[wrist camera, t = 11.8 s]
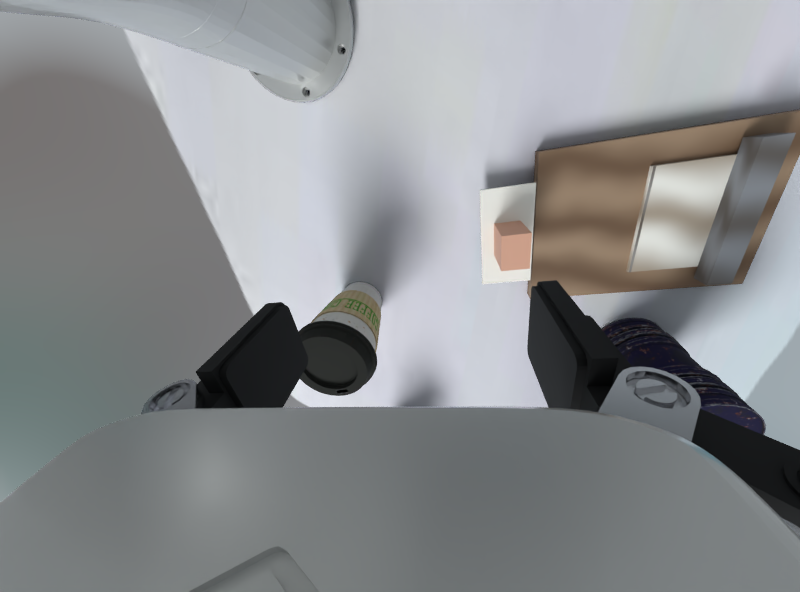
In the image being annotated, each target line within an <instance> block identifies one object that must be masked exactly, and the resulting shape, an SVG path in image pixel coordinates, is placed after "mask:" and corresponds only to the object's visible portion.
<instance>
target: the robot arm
mask: <svg viewBox="0 0 800 592" xmlns="http://www.w3.org/2000/svg"><path fill="white" fill-rule="evenodd" d="M0 12H7V13H18V14H30V15H42V16H55V17H67V18H75V19H83V20H88V21H94V22H99V23H104V24H108V25H112V26H116V27H120V28H124V29H128V30H131V31H134V32H137V33H141V34H144V35H147V36H150V37H153V38H157V39H160V40H163V41H165V42H168V43H171V44H174V45H177V46H179V47H182V48H185V49H188V50H191V51H194V52H197V53H200V54H203V55H206V56H209V57H212V58H215V59H218V60H221V61H223V62H226V63H229V64H232V65H235V66H238V67H241V68H244V69H247V70H249V71H250V73H251V74H252V75H253V77H254V78H255V79H256V80H257V81H258V82H259V83H260V84H261V85H262V86H263V87H264V88H265V89H267V90H268V91H270V92H271V93H273V94H274V95H276V96H278V97H281V98H283V99H285V100H289V101H293V102H303V103H305V102H311V101H315V100H318V99H320V98H322V97H324V96H326V95H327V94H328V93H330V92H331V91H332V90H333V89H334V88H335V87H336V86H337V85H338V83H339V82H340V81H341V79H342V77H343V75H344V74H345V72H346V70H347V67H348V64H349V61H350V58H351V53H352V48H353V37H354V25H353V16H352V10H351V5H350V1H349V0H0ZM343 48H345V49H346V52H345V53H344V54H342V49H343ZM309 90H310V95H308V93H307V92H308V91H309ZM528 356H529V359H530V361H531V364H532V366H533V369H534V371H535V374H536V376H537V379H538V382H539V384H540V387H541V389H542V392H543V394H544V397H545V399H546V402H547V404H548V407H549V408H542V407H299V408H298V407H296V408H295V407H292V408H291V407H290V408H289V407H288V408H287V407H286V408H285V407H284V408H283V406H284V404H285V402H286V401H287V399H288V397H289V396H290V394H291V392H292V391H293V389H294V387H295V385H296V384H297V382H298V380H299V379H300V377H301V375H302V373H303V372H304V370H305V368H306V367H307V364H308V356H307V353H306V350H305V348H304V345H303V343H302V340H301V338H300V335H299V333H298V330H297V327H296V325H295V322H294V320H293V317H292V315H291V312H290V310H289V308H288V306H286V305H284V304H283V303H282V302H279V303H267V304H266V305H265V306H264V307H263V308H262V309H260V310H259V311H258V312H257V313H256V314H255V315H254V316H253V317H252V318H251V319H250V320H249V321H248V322H247V323H246V324H245V325H244V326H243V327H242V328H241V329H240V330H239V331H238V332H237V333H236V334H235V335H233V336H232V337H231V338H230V340H228V341H227V342H226V343H225V344H224V345H223V346H222V347H221V348H220V349H219V350H218V351H217V352H216V353H215V354H214V355H213V356H212V357H211V358H210V359H209V360H207V362H206V363H204V364H203V365H202V366H201V367H200V368H199V369H198V370H197V371H196V373H197V375H198V376H199V378H200V379H201V381H200V382H199V383H198V384H196V382H195V381H194V380H192V379H185V380H180V381H177V382H174V383H172V384H169V385H167V386H165V387H164V388H162V389H160V390H159V391H157V392H156V393H155V394H154V395H152V396H151V397H150V398H149V399H148V400H147V402H146V403H145V404H144V406H143V409H142V412H141V415H137V416H132V417H129V418H125V419H122V420H119V421H116V422H113V423H110V424H108V425H105V426H103V427H101V428H98V429H96V430H94V431H92V432H90V433H88V434H86V435H85V436H83V437H81V438H80V439H78V440H77V441H76V442H74V443H73V444H71V445H70V446H69V447H67V448H66V449H65V450H64V451H63V452H61V453H60V454H59V455H57V456H56V457H55V458H53V459H52V460H51V461H50V462H49V463H47V464H46V465H45V466H43V467H42V468H41V469H40V470H38V472H36V473H35V474H34V475H32V476H31V477H30V478H29V479H27V480H26V481H25V482H24V483H23V484H21V485H20V486H19V487H18V488H16V489H15V490H14V491H13V492H12V493H10V494H9V495H8V496H7V497H6V498H5V499H3V500H2V501H1V502H0V592H800V450H798V449H795V448H793V447H791V446H788V445H786V444H784V443H781V442H779V441H776V440H774V439H772V438H769V437H767V436H765V435H762V434H760V433H757V432H755V431H753V430H750V429H748V428H745V427H743V426H741V425H738V424H736V423H733V422H731V421H729V420H726V419H724V418H722V417H719V416H717V415H714V414H712V413H710V412H707V411H705V410H702V409H700V406H701V401H700V396H699V395H698V393H697V392H696V390H695V389H694V388H693V387H692V386H690V385H689V384H688V383H687V382H686V381H684V380H682V379H681V378H679V377H677V376H675V375H673V374H671V373H668V372H666V371H663V370H659V369H655V368H650V367H632V366H631V364H630V363H629V362H628V361H627V359H626V358H625V357H624V356H623V355H622V353H621V352H620V351H619V350H618V349H617V347H616V346H615V345H614V344H613V343H612V341H611V340H610V339H609V338H608V336H607V335H606V334H605V333H604V332H603V330H602V329H601V328H600V327H599V326H598V324H597V323H596V322H595V321H594V319H593V318H591V317H590V316H585V315H584V314H583V312H582V311H581V310H580V309H579V307H578V306H577V305H576V304H575V302H574V301H573V300H572V299H571V297H570V296H569V295H568V293H567V292H566V291H565V290H564V288H563V287H562V286H561V285H560V283H559V282H558V281H557V280H552V281H540V282H538V283H537V286H532V288H531V300H530V316H529V332H528Z"/></svg>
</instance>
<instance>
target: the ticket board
mask: <svg viewBox="0 0 800 592" xmlns="http://www.w3.org/2000/svg"><path fill="white" fill-rule="evenodd" d="M799 155H800V110H793V111H787V112H781V113H774V114H768V115H762V116H755V117H749V118H743V119H736V120H730V121H724V122H718V123H711V124H705V125H699V126H692V127H686V128H680V129H673V130H667V131H661V132H654V133H648V134H642V135H636V136H629V137H623V138H617V139H610V140H604V141H598V142H591V143H585V144H579V145H572V146H566V147H560V148H553V149H547V150H541V151H535V168H534V182H536V194H535V210H534V227H533V243H532V260H531V276H530V280H528V291H527V294H528V295H529V297H530V299H531V288H532V286H537V283H538V282H540V281H552V280H557V281H558V282H559V283H560V285H561V286H562V287H563V288H564V290H565V291H566V292H567V293H568V295H569V296H574V295H588V294H602V293H617V292H631V291H645V290H659V289H673V288H687V287H702V286H716V285H730V284H742V283H743V281H744V279H745V277H746V274H747V272H748V270H749V268H750V265H751V263H752V261H753V259H754V256H755V254H756V252H757V250H758V247H759V245H760V243H761V241H762V238H763V236H764V234H765V232H766V229H767V227H768V225H769V223H770V220H771V218H772V216H773V214H774V211H775V209H776V207H777V205H778V202H779V200H780V198H781V196H782V193H783V191H784V189H785V187H786V184H787V182H788V180H789V178H790V175H791V173H792V171H793V169H794V166H795V164H796V162H797V160H798V157H799Z"/></svg>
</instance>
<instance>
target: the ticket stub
mask: <svg viewBox="0 0 800 592" xmlns="http://www.w3.org/2000/svg"><path fill="white" fill-rule="evenodd" d="M535 194H536V182H533V183H526V184H519V185H511V186H504V187H497V188H490V189H483V190H480V222H481V261H482V284H492V283H504V282H516V281H528V280H530V276H531V260H532V243H533V227H534V210H535Z"/></svg>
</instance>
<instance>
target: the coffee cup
mask: <svg viewBox="0 0 800 592" xmlns="http://www.w3.org/2000/svg"><path fill="white" fill-rule="evenodd" d="M381 305H382V298H381V295H380V293H379V292H378V290H377V289H376V288H375V287H374V286H372V285H370V284H368V283H365V282H354V283H352V284H350V285H348V286H347V287H346V288H345V289H344V290H343V291H342V292H341V293H340V294H338V295H337V296H336V297H335V298H334V299H333V300H332V301H331V302H330V303H329V304H328V305H327V306H326V307H325V308H324V309H323V310H322V311H321V312H320V313H319V314H318V315H317V316H316V317H315V318H314V319H313V320H312V322H311V323H310V324H308V325H306V326H305V327H303V328H302V329H301V330H300V331H299V332H298V333H299V335H300V338H301V340H302V343H303V345H304V348H305V350H306V353H307V356H308V364H307V367H306V368H305V370H304V372H303V373H302V375H301V377H300V379H301V380H302V381H303V382H304V383H305V384H306V385H308V386H309V387H311V388H312V389H314V390H316V391H318V392H321V393H324V394H328V395H336V396H341V395H348V394H351V393H354V392H356V391H357V390H359V389H360V388H361V387H362V386H363V385H364V384H366V383H367V382H368V381H369V380H370V378H371V377H372V376H373V374H374V372H375V370H376V366H377V356H376V349H377V343H378V335H379V327H380V319H381Z"/></svg>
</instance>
